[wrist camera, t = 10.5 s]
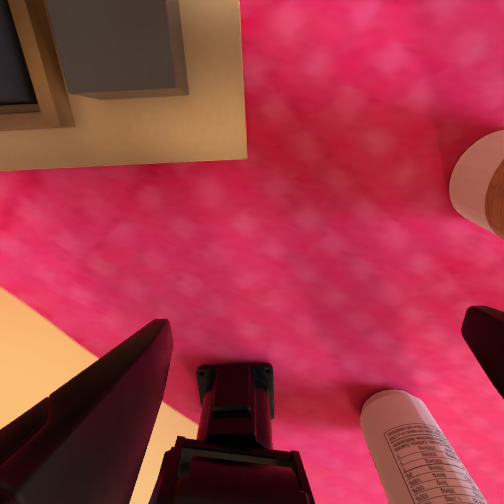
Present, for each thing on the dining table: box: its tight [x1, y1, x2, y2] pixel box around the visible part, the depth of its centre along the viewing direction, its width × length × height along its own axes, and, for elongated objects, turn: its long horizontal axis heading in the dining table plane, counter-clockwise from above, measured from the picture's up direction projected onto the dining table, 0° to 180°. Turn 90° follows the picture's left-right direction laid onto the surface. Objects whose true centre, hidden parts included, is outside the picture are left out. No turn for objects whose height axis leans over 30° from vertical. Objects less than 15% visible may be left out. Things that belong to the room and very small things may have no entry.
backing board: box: [0, 0, 248, 171], centre depth 14 cm, size 14×19×4 cm
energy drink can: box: [360, 389, 488, 504], centre depth 20 cm, size 6×6×15 cm
